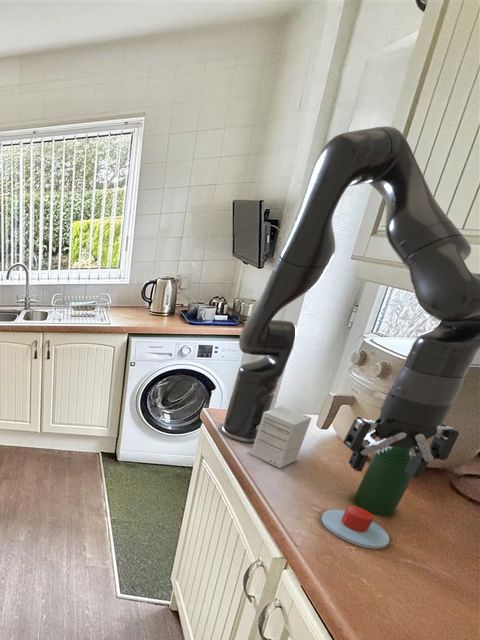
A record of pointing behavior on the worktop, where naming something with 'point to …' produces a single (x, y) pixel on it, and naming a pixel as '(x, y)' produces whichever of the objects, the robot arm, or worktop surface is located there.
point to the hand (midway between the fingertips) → (382, 471)
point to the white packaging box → (280, 436)
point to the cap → (357, 519)
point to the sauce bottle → (384, 481)
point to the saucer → (368, 539)
